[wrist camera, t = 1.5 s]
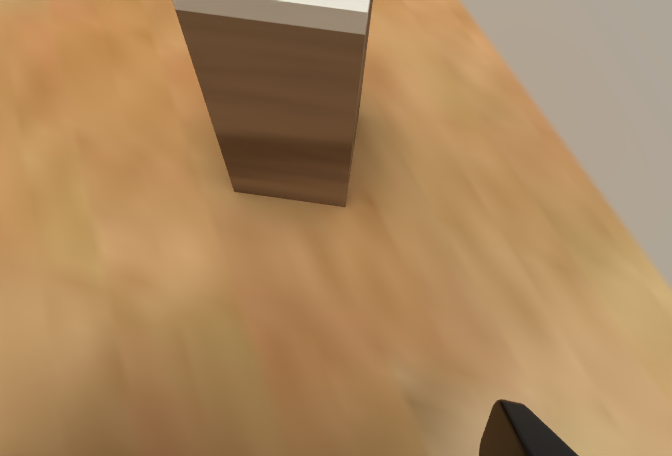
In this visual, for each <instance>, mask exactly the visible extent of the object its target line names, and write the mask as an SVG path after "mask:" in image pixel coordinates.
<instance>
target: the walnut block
mask: <svg viewBox="0 0 672 456" xmlns="http://www.w3.org/2000/svg"><path fill="white" fill-rule="evenodd" d="M172 1H173V4H174V7H175V10H176V13H177V16H178V20H179V23H180V26H181V29H182V32H183V35H184V38H185V41H186V44H187V47H188V50H189V53H190V56H191V60H192V63H193V66H194V69H195V72H196V75H197V78H198V81H199V84H200V87H201V90H202V93H203V96H204V99H205V103H206V106H207V109H208V112H209V115H210V118H211V121H212V124H213V127H214V130H215V133H216V136H217V139H218V142H219V146H220V149H221V152H222V155H223V158H224V161H225V164H226V167H227V170H228V173H229V176H230V179H231V182H232V185H233V189H234V191H235V192H242V193H249V194H256V195H263V196H271V197H278V198H285V199H292V200H299V201H306V202H313V203H321V204H328V205H335V206H342V207H345V204H346V197H347V190H348V183H349V176H350V169H351V163H352V156H353V149H354V142H355V135H356V128H357V121H358V114H359V107H360V99H361V90H362V82H363V74H364V66H365V58H366V50H367V42H368V34H369V26H370V18H371V10H372V2H373V0H172Z"/></svg>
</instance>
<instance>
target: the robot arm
mask: <svg viewBox="0 0 672 456" xmlns="http://www.w3.org/2000/svg"><path fill="white" fill-rule="evenodd" d="M479 456H578V455H577V454H576V453H575V452H574V451H573V450H572V449H571V448H570V447H569V446H568V445H567V444H566V443H565V442H563V441H562V440H561V439H560V438H559V437H558V436H557V435H556V434H555V433H554V432H553V431H552V430H551V429H550V428H549V427H548V426H547V425H545V424H544V423H543V422H542V421H541V420H540V419H539V418H538V417H537V416H536V415H535V414H534V413H533V412H532V411H531V410H530V409H529V408H527V407H526V406H525V405H524V404H521V403H517V402H512V401H507V400H502V399H500V400H498V401H496V402H495V404H494V405H493V407H492V410H491V413H490V416H489V419H488V422H487V425H486V427H485V430H484V433H483V436H482V439H481V443H480V449H479Z"/></svg>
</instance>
